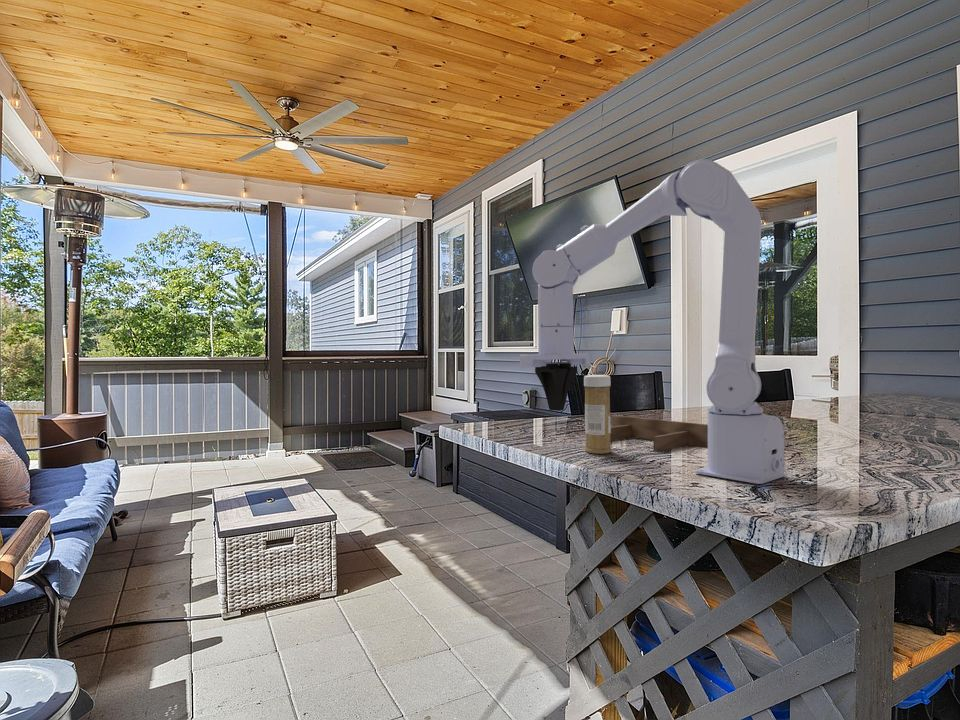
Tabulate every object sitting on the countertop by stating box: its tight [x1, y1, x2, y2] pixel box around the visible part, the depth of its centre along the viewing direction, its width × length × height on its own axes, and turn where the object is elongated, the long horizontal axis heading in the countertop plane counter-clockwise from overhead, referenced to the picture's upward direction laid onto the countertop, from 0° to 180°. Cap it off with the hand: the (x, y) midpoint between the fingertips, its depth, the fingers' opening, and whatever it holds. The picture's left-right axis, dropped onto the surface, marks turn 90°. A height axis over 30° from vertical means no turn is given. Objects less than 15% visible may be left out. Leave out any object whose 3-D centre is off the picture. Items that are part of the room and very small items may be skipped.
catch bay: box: [610, 414, 708, 452], centre depth 111 cm, size 22×11×4 cm, turn 39°
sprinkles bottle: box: [583, 374, 612, 455], centre depth 102 cm, size 5×5×14 cm
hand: (556, 410), depth 96 cm, fingers closed
